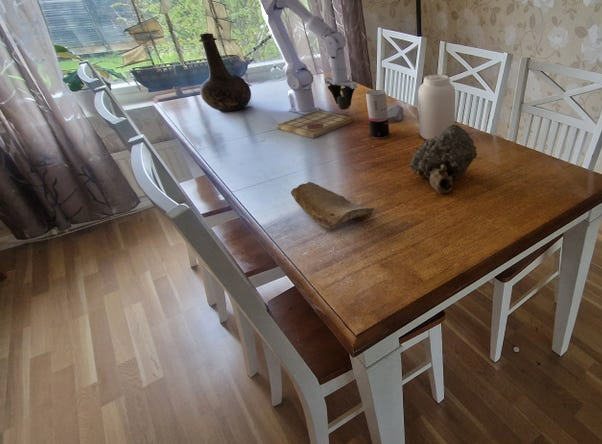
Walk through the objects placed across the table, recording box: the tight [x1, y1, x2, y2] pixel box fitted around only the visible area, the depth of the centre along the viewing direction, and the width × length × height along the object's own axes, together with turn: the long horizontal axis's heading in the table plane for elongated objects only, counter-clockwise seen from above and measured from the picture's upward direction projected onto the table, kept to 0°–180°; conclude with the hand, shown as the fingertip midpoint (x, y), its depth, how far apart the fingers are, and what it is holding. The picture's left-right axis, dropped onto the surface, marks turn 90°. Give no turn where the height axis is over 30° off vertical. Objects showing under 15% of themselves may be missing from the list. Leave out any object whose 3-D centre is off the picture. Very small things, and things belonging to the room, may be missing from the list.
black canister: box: [337, 93, 351, 111], centre depth 148 cm, size 5×5×5 cm
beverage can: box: [365, 89, 390, 139], centre depth 128 cm, size 7×7×15 cm
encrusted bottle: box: [408, 124, 478, 195], centre depth 100 cm, size 18×14×15 cm
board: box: [276, 109, 354, 139], centre depth 140 cm, size 18×20×2 cm
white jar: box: [417, 73, 456, 141], centre depth 128 cm, size 12×12×20 cm
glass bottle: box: [198, 32, 252, 112], centre depth 148 cm, size 18×18×28 cm
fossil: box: [290, 181, 375, 230], centre depth 90 cm, size 22×6×10 cm
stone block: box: [387, 104, 404, 123], centre depth 147 cm, size 12×5×10 cm
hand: (343, 104), depth 148 cm, fingers closed on black canister, 4 cm apart
